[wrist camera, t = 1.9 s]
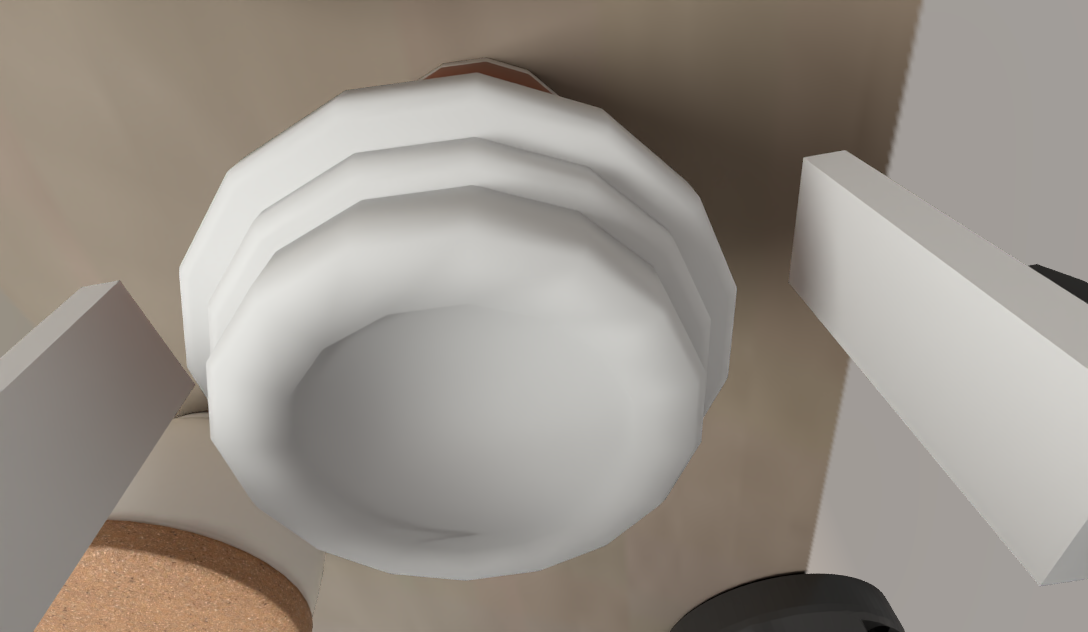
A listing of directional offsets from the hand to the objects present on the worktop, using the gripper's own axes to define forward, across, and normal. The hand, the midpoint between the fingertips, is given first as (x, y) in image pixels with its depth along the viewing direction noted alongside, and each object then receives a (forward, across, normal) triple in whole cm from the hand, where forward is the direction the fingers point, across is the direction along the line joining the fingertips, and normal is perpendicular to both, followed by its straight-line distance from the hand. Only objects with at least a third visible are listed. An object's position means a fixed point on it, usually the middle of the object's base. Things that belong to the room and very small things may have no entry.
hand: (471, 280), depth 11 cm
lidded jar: (+8, +14, +12) cm, 20 cm away
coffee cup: (+8, 0, +1) cm, 8 cm away
